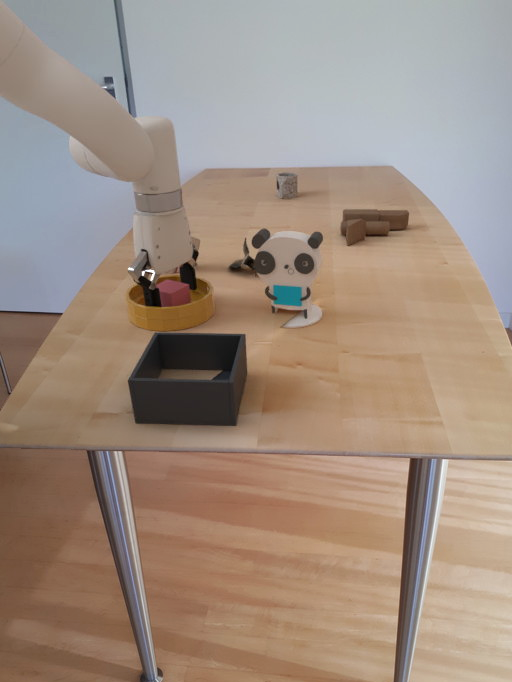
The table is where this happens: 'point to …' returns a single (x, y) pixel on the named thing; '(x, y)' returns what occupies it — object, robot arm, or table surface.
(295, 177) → the mug
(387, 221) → the wooden block set
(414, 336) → the table surface
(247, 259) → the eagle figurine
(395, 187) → the table surface
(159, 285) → the block
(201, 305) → the bowl
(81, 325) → the table surface
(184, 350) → the bin
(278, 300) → the panda figurine
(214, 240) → the table surface
